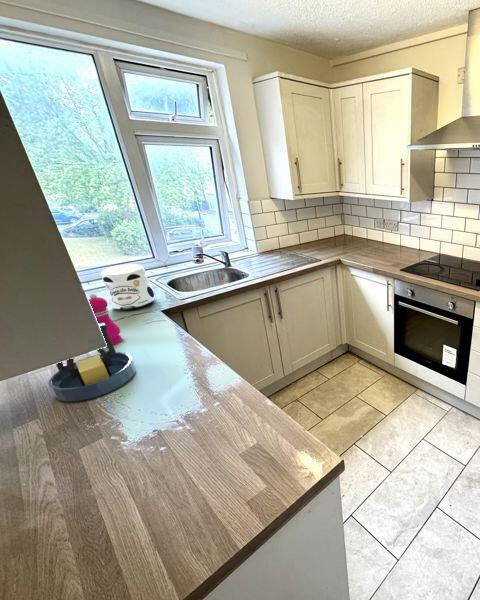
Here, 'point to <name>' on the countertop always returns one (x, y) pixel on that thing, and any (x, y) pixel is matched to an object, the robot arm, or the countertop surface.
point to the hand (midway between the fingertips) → (97, 380)
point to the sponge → (92, 370)
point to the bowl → (74, 391)
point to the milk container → (127, 287)
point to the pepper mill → (105, 318)
